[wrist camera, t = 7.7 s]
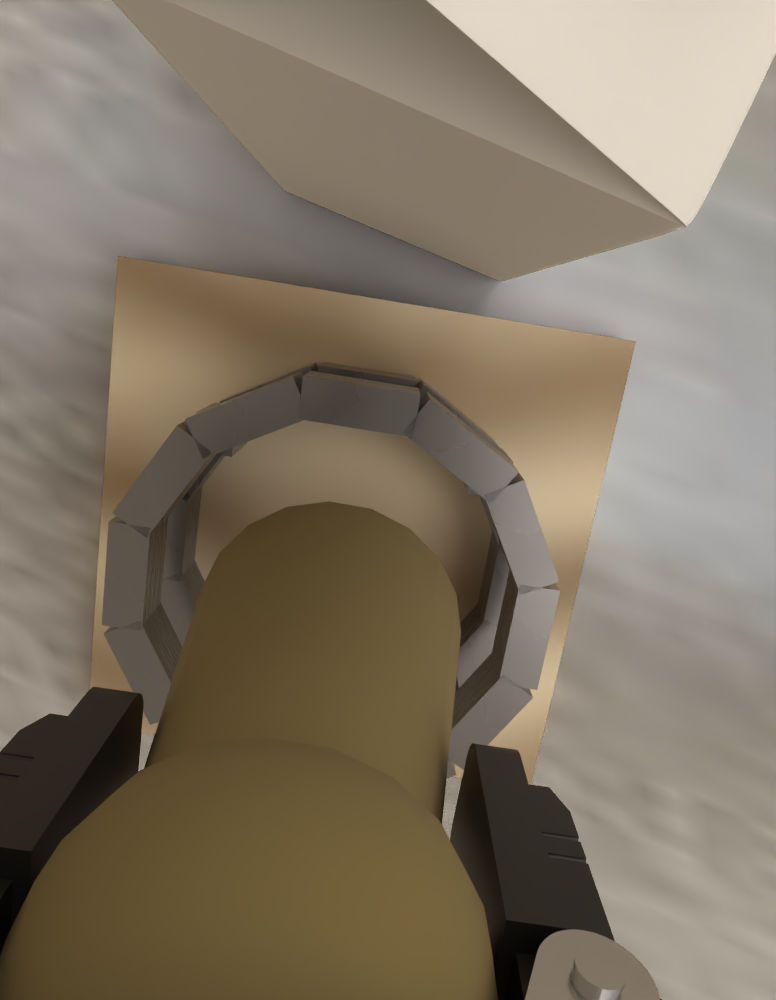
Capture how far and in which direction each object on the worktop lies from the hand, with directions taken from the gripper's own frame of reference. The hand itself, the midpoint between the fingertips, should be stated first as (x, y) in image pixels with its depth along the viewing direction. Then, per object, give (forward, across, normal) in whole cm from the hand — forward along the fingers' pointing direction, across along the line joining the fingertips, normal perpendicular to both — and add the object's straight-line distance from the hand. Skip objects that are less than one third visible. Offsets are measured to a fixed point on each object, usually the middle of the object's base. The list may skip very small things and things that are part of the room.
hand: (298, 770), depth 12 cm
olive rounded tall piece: (+6, 0, 0) cm, 6 cm away
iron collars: (+12, 0, 0) cm, 12 cm away
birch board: (+13, 0, 0) cm, 13 cm away
